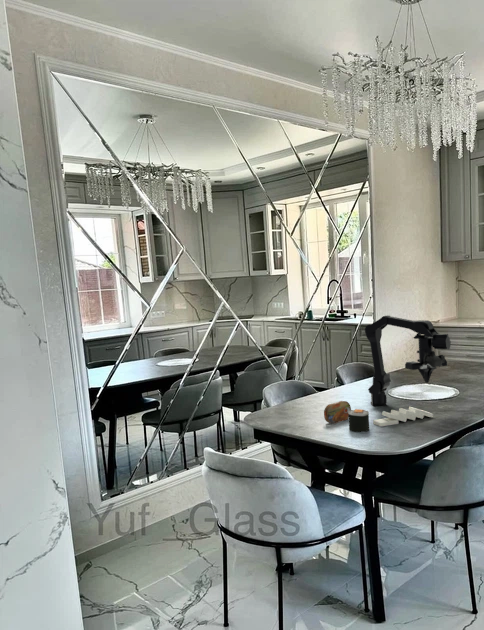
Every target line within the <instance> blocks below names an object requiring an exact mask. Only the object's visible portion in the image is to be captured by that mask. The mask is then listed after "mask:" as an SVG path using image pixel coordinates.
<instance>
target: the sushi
mask: <svg viewBox="0 0 484 630" xmlns="http://www.w3.org/2000/svg"><path fill="white" fill-rule="evenodd" d="M348 415H349V418H348V429H349V431H350V432H355V433H367V432H369V431H370V421H369V420H370V419H369V417H370V416H369V415H370V413H369V411H368V410H366V409H360V408H359V409H357V408H356V409H351V411H348Z"/></svg>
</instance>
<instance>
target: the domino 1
mask: <svg viewBox="0 0 484 630" xmlns="http://www.w3.org/2000/svg"><path fill="white" fill-rule="evenodd" d="M372 422H373V424H374V425H375V426H377V427H386V426H391V425H399V420H396V419H393V418H389V417H384V418H379V419H373V421H372Z"/></svg>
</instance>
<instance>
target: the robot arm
mask: <svg viewBox="0 0 484 630" xmlns="http://www.w3.org/2000/svg"><path fill="white" fill-rule="evenodd" d="M388 325H389V326H394V327H398V328H403V329H409V330H410V331H413V332H414V333H416V335H415V336H414V337H413V339H414V340H416V339H417V340H418V350H416V353H417V354H418V357H419V358H418V359H417V360H416V361H417V362H416V361H407V362H405V364H404V367H405V369H408V370H411V371H416V370H418V372H419V373H420V375H421V377H422V378H423V381H424V383H426V384H428V383H429V382H430V378H431V377H432V373H433V371H435V370H436V369H437V368H438V367H445V366H446V367H447V366H448V361H447V360H446V357H445V355H444V354H438V355H436V352H435V350H450V349H451V345H452V344H451V342H452V341H451V338H450V337H449V334H448V333H438V331H437V330H436V329H435V327H434V324H433V323H432V321H430V320H425V319H423V320H422V319H421V320H419V319H418V320H412V319H406V318H401V317H396V316H391V315H389V314H387V315H384V316H382V317H380V318H379V319H378V320H376V321H374V322H373V323H370V324H367V325H366V326H365V327H364V334H365V337H366V339H367V340H368V342H369V344H370V349H371V357H372V365H373V370H374V372H373V377H372V385H371V386H369V388H368V392H369V394H370V400H371V401H370V404H371V405H372V406H373V407H379V406H380V407H382V406H384V407H385V406H387V404H388V402H387V401H388V399H387V394H386V391H387V389H388V388H389V387H390V386H391V385H390V384H391V382H392V380H391V378H390V377H391V376H390V373H387V372H386V370H385V366H384V365H385V364H384V359H383V352H382V345H381V341H382V340H381V339H382V334H383V333H382V332H383V330H384V329H385V328H386V327H387V326H388ZM433 348H434V349H435V350H433Z"/></svg>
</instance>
